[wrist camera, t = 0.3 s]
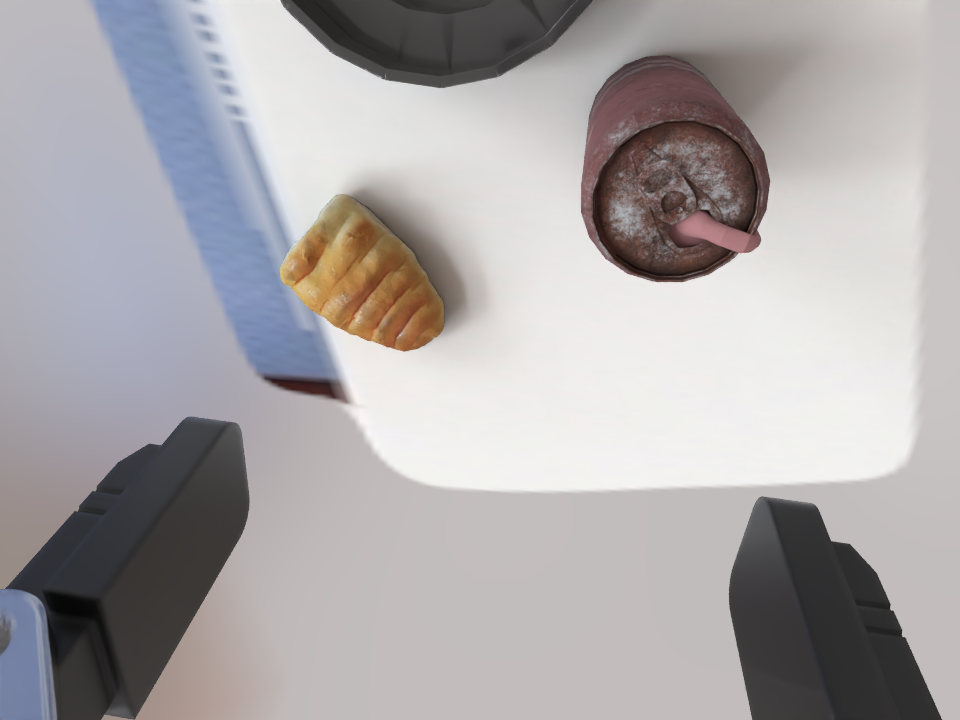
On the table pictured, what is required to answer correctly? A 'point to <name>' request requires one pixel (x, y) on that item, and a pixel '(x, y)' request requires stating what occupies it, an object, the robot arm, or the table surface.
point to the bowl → (436, 35)
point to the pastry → (363, 278)
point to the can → (670, 173)
